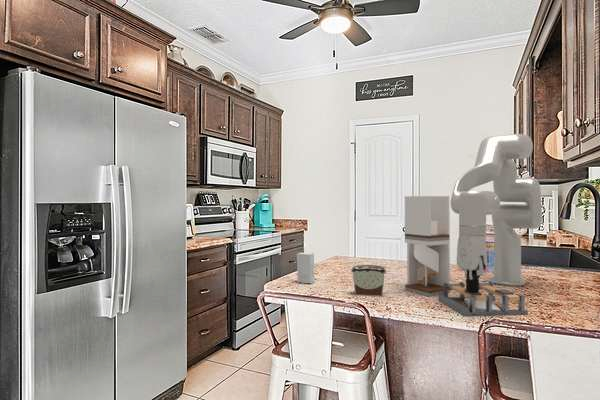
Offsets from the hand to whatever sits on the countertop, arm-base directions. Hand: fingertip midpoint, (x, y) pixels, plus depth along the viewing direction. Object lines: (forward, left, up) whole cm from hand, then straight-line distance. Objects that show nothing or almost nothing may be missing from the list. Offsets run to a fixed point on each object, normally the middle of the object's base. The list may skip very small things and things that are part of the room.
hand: (472, 292), depth 117 cm
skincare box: (-44, -47, -6) cm, 65 cm away
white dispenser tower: (-25, -4, -6) cm, 26 cm away
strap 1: (-4, 0, -2) cm, 5 cm away
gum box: (-62, +42, -6) cm, 75 cm away
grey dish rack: (-4, +5, -6) cm, 9 cm away
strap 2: (-4, +10, -2) cm, 12 cm away
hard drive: (-4, +5, -7) cm, 10 cm away
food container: (-24, -26, -6) cm, 36 cm away
